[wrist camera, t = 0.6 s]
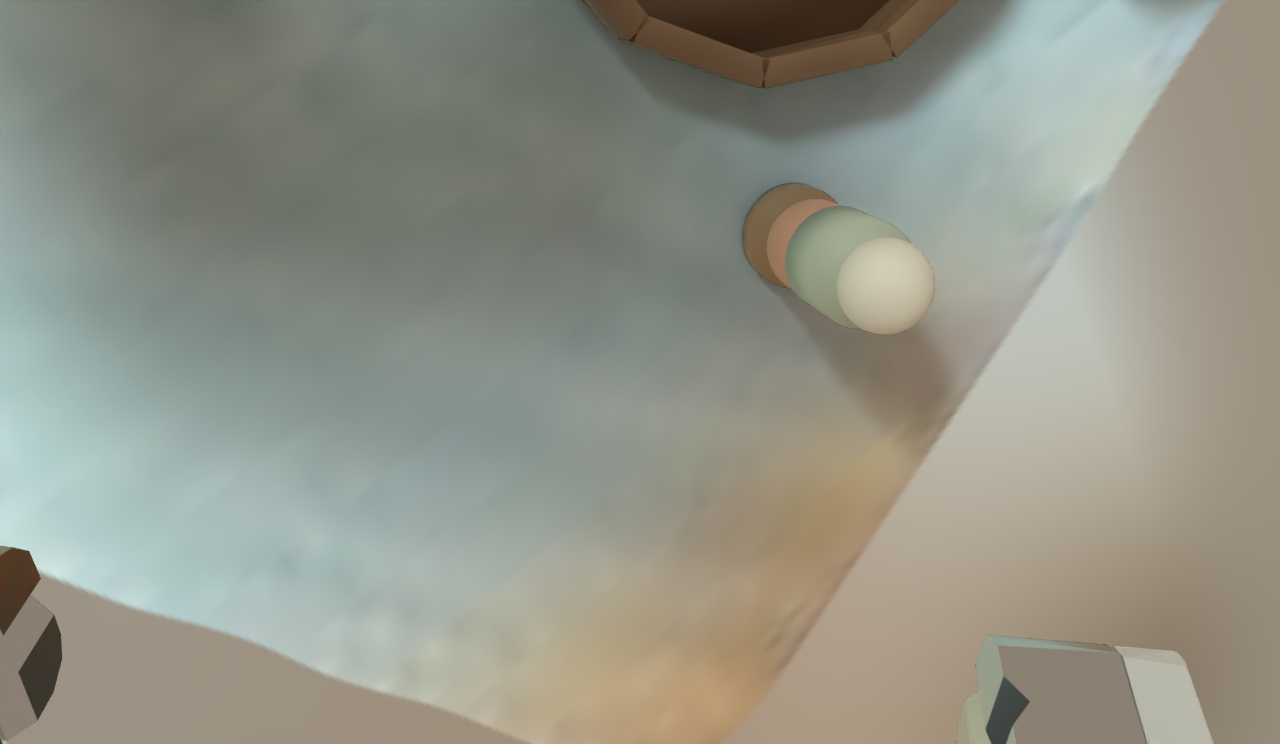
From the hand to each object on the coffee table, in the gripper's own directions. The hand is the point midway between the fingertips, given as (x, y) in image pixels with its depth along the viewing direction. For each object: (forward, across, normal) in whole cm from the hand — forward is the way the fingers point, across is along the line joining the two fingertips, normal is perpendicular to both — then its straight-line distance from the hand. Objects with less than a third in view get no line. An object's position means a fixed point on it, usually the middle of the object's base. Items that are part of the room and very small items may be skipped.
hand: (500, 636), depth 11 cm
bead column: (+36, -4, +16) cm, 39 cm away
